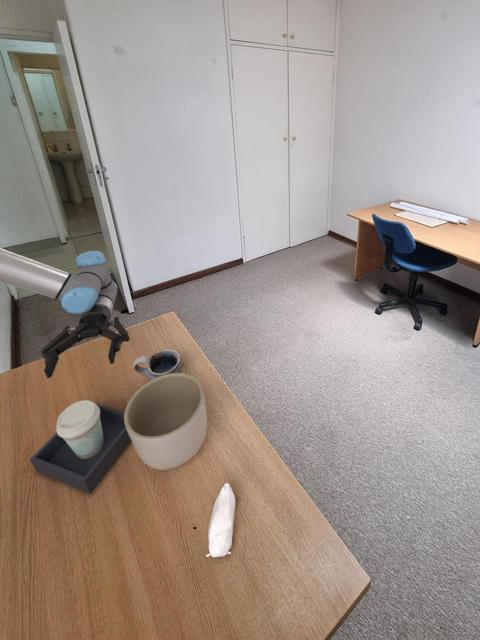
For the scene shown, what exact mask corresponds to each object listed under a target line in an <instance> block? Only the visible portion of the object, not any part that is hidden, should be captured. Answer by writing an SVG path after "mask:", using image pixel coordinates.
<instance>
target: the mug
mask: <svg viewBox="0 0 480 640" xmlns="http://www.w3.org/2000/svg"><path fill="white" fill-rule="evenodd" d="M140 364H143V365H144V364H145V366H146V367H142V366H140ZM132 367H133V370H134V371H135V373H138V374H140V375H144V376H147V377H148V379H149V381H151V380H153V379H155V378H157V377H159V376H162V375H165V374H170V373H181V371H182V363H181V355H180V353H179V351H177V350H175V349H171V348H166V349H162V350H160V351H157V352H155V353H153V354H151V355H149V356H147V355H140V356H138V357H136V359H135V360H134V362H133V364H132Z"/></svg>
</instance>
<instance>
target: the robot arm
mask: <svg viewBox="0 0 480 640" xmlns="http://www.w3.org/2000/svg"><path fill="white" fill-rule="evenodd" d="M75 263H76V267H77V269H78V270H77V272H76V273H75V274H73V273H70V272H68V271H65V270H61V269H60V268H56V267H53V266H51V265H48V264H45V263H42V262H41V261H37V260H34V259H31V258H29V257H26V256H24V255H20V254H17V253H15V252H13V251H9V250H7V249H4V248H1V247H0V283H4V284H6V285H10V286H13V287H16V288H18V289H23V290H25V291H29V292H32V293H35V294H39V295H41V296H45V297H48V298H51V299H54V300H57V301H60V303H61V307H62V309H64V310H65V311H66V312H67V313H69V314H73V315H80V317H79V320H78V321H79V322H78V325H77V324H76V326H75V327H70V326H69V325H66V326H64V328H63V329H62V331H61V332H60V333H58V334H57V335H56V336H55V337H54V338H53V339H52V340H51V341H49V343H47V344H45V346H43V348H41V349H40V354H41V355H42V357H43V359H44V365H45V367H44V369H43V371H44V374H45V376H46V378H47V379H51V378H52V377H53V374H54V372H55V369H56V368H57V364H58V362H59V360H60V357H59V356H60V355H62V354H63V353H64V352H66V351H67V350H68V349H70V348H71V347H72V346H74V345H75V344H77V343H81V342H82V341H83V340H85V339H90V338H96V337H98V336H101V337H103V338H106V339H107V340H109V341H110V347H109V350H108V354H107V357H108V360H109V364H110V365H113V364H115V360H116V354H117V352H120V351H121V349H122V344H123V343H124V342H126V343H127V342H130V340H131V339H130V335H129V332H128V330H126V328H125V327H124V325H123V324H122V323H121V320H120V317H119V316H114V318H113V319H112V320H111V316H112V314H113V309H114V305H115V301H116V298H117V296H118V285H117V284H116V282H115V281H113V279H112V277H111V274H110V270H109V268H108V263H107V259H106V258H105V254H104V253H103V252H101V251H99V250H90V251H85V252H83V253H80V254H79V255H78V256H77V257H76V258H75ZM110 327H113V328H114V329H115V330H116V331H117V332H116V331H114V330H112V329H110Z"/></svg>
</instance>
